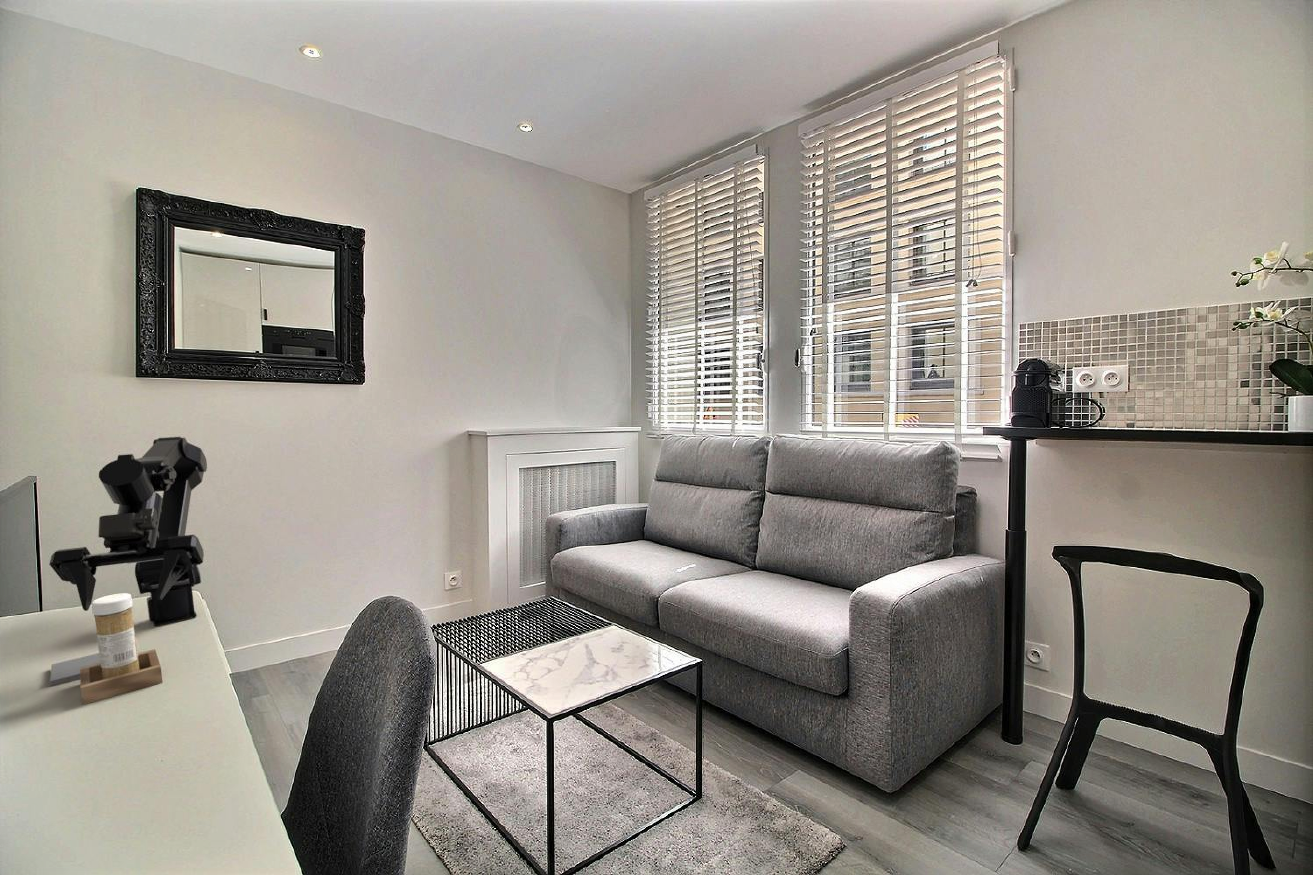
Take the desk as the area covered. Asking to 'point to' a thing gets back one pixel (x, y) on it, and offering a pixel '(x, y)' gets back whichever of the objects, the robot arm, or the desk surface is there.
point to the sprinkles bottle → (116, 635)
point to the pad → (71, 669)
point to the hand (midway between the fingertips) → (122, 604)
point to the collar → (119, 679)
